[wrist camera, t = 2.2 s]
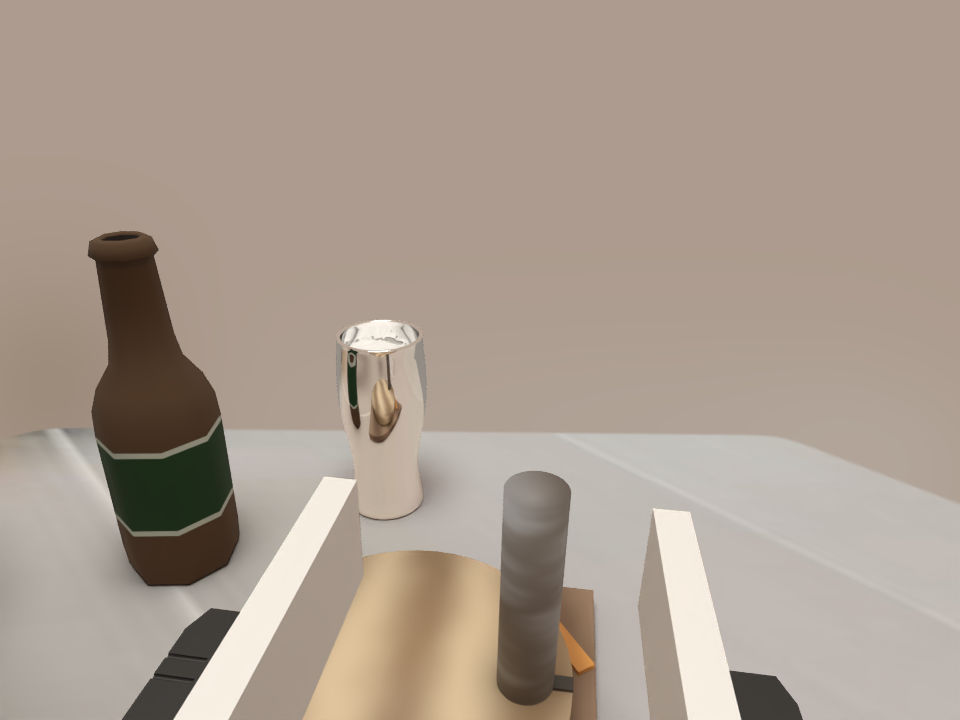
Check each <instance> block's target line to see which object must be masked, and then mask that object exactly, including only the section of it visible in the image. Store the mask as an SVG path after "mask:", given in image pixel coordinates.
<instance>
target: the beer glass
mask: <svg viewBox="0 0 960 720" xmlns="http://www.w3.org/2000/svg"><path fill="white" fill-rule="evenodd" d="M336 383H337V393H338V402H339V407H340V412H341V417H342V421H343V424H344V428H345V431H346V435H347V438H348V442H349V445H350V449H351V453H352V457H353V463H354V480H357V488H358V502H359V513H360V514H362V515H364V516H366V517H369V518H373V519H379V520H388V519H396V518H400V517H403V516H405V515H408V514H410V513H411V512H413V511H414V510H416V509H417V508H418V507H419V506H420V504H421V503H422V500H423V488H422V484H421V480H420V476H419V471H418V450H419V444H420V438H421V432H422V427H423V421H424V415H425V407H426V398H427V377H426V363H425V353H424V344H423V332H422V330H421V329H420V328H419V327H417V326H416V325H413V324H411V323H408V322H404V321H399V320H390V319H377V320H368V321H362V322H357V323H354V324H351V325H348V326H346V327H344V328H342V329H341V330H340V331H339V332H338V333H337V335H336Z"/></svg>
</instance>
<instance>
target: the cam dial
mask: <svg viewBox="0 0 960 720" xmlns="http://www.w3.org/2000/svg"><path fill="white" fill-rule="evenodd" d="M570 499H571V490H570V487H569V485H568V484H567V483H566V482H565V481H564V480H563V479H561V478H560V477H558V476H556V475H553V474H551V473H547V472H541V471H527V472H522V473H518V474H516V475H514V476H512V477H510V478H509V479H508V480H507V481H506V483H505V485H504V499H503V525H502V551H501V571H500V570H498V569H496V568H494V567H492V566H490V565H487V564H485V563H482V562H479V561H476V560H474V559H471V558H467V557H463V556H459V555H455V554H449V553H443V552H435V551H397V552H388V553H381V554H376V555H371V556H366V557H363V571H364V576H363V578H362V580H361V583H360V585H359V587H358V590H357V592H356V594H355V597H354V599H353V602H352V604H351V606H350V609H349V611H348V613H347V616H346V618H345V620H344V623H343V625H342V628H341V630H340V632H339V635H338V637H337V639H336V642H335V644H334V646H333V649H332V651H331V654H330V656H329V658H328V661H327V663H326V665H325V668H324V670H323V672H322V675H321V677H320V679H319V682H318V684H317V687H316V689H315V691H314V694H313V696H312V698H311V701H310V703H309V705H308V708H307V710H306V713H305V715H304V717H303V720H570V716H571V706H572V695H573V689H574V677H573V675H572V665H571V661H570V656H569V652H568V648H567V645H566V643H565V640H564V638H563V635H562V633H561V631H560V629H559V622H560V611H561V599H562V588H563V577H564V566H565V555H566V544H567V533H568V522H569V510H570Z"/></svg>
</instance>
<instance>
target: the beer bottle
mask: <svg viewBox="0 0 960 720" xmlns="http://www.w3.org/2000/svg"><path fill="white" fill-rule="evenodd" d="M157 251H158V248H157V246H156V244H155V242H154V240H153V238H152V237H151V236H148V235H147V234H144V233H141V232H137V231H136V232H135V231H128V232H127V231H120V232H113V233H107V234H103V235H101V236H99V237H97V238H95V239H93V240H91V241H89V250H88V256H89V257H90V258H92V259H94V260H95V261H96V267H97V274H98V280H99V286H100V293H101V299H102V305H103V312H104V317H105V324H106V330H107V337H108V358H109V359H108V360H109V361H108V366H107V368H106V370H105V372H104V374H103V376H102V378H101V380H100V382H99V384H98V386H97V388H96V390H95V396H94V401H93V406H92V419H93V425H94V432H95V438H96V441H97V445H98V449H99V453H100V457H101V461H102V464H103V468H104V472H105V476H106V480H107V484H108V488H109V491H110V495H111V499H112V503H113V507H114V511H115V515H116V518H117V522H118V526H119V530H120V534H121V538H122V541H123V545H124V548H125V551H126V553H127V556H128V559H129V562H130V564H131V565H132V566H133V567H134V568H135V569H136V571H137V572H138V573H139V574H140V575H141V576H142V578H143V579H144V580H145V581H146V582H147V583H148V584H149V585H183V584H191V583H193V582H195V581H197V580H199V579H201V578H203V577H205V576H206V575H208V574H210V573H212V572H214V571H216V570H218V569H219V568H221V567H223V566H225V565H227V562H228V560H229V558H230V556H231V553H232V551H233V549H234V547H235V544H236V542H237V540H238V537H239V524H238V514H237V508H236V502H235V496H234V490H233V484H232V478H231V472H230V466H229V460H228V454H227V448H226V442H225V436H224V430H223V424H222V418H221V413H220V409H219V405H218V401H217V398H216V394H215V391H214V390H213V388H212V386H211V385H210V383H209V381H208V380H207V379H206V377H205V375H204V374H203V372H202V371H201V370H200V369H199V368H197V367H196V366H195V365H194V364H193V363H192V362H191V361H190V360H189V359H188V358H187V357H186V356H184V355H183V354H182V351H181V349H180V346H179V344H178V342H177V339H176V336H175V334H174V331H173V327H172V324H171V320H170V316H169V312H168V308H167V304H166V301H165V297H164V293H163V289H162V286H161V282H160V278H159V274H158V271H157V266H156V263H155V259H154V255H155V254H156V252H157Z"/></svg>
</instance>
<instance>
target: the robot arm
mask: <svg viewBox="0 0 960 720" xmlns="http://www.w3.org/2000/svg"><path fill="white" fill-rule="evenodd" d="M363 576H364V571H363V557H362V543H361V529H360V516H359V502H358V488H357V480H353V479H342V478H332V477H324V478H323V480H322V481H321V483H320V484H319V486H318V488H317V489H316V491H315V492H314V494H313V496H312V497H311V499H310V500H309V502H308V504H307V505H306V507H305V509H304V510H303V512H302V513H301V515H300V517H299V518H298V520H297V521H296V523H295V525H294V526H293V528H292V529H291V531H290V533H289V534H288V536H287V538H286V539H285V541H284V542H283V544H282V546H281V547H280V549H279V550H278V552H277V554H276V555H275V557H274V558H273V560H272V562H271V563H270V565H269V567H268V568H267V570H266V571H265V573H264V575H263V576H262V578H261V579H260V581H259V583H258V584H257V586H256V587H255V589H254V591H253V592H252V594H251V596H250V597H249V599H248V600H247V602H246V604H245V605H244V607H243V608H242V610H241V612H237V611H229V610H221V609H213V608H211V609H209V610H208V611H207V612H206V613H204V614H203V615H202V616H201V617H199V618H198V619H197V620H196V621H194V622H193V623H192V624H191V625H189V626H188V627H187V628H186V629H185V630H184V631H183V633H182V634H181V636H180V637H179V639H178V640H177V641H176V643H175V644H174V646H173V647H172V649H171V650H170V651H169V654H168V657H167V658H165V659H164V660H163V661H162V663H161V664H160V666H159V667H158V669H157V670H156V671H155V673H154V677H153V679H150V680H149V682H148V683H147V684H146V686H145V687H144V689H143V690H142V692H141V693H140V694H139V696H138V697H137V699H136V700H135V702H134V703H133V704H132V706H131V707H130V709H129V710H128V712H127V713H126V714H125V716H124V717H123V719H122V720H303V717H304V715H305V713H306V710H307V708H308V705H309V703H310V701H311V698H312V696H313V694H314V691H315V689H316V687H317V684H318V682H319V679H320V677H321V675H322V672H323V670H324V668H325V665H326V663H327V661H328V658H329V656H330V654H331V651H332V649H333V646H334V644H335V642H336V639H337V637H338V635H339V632H340V630H341V628H342V625H343V623H344V620H345V618H346V616H347V613H348V611H349V609H350V606H351V604H352V602H353V599H354V597H355V594H356V592H357V590H358V587H359V585H360V583H361V580H362V578H363ZM638 610H639V619H640V629H641V638H642V647H643V656H644V666H645V675H646V684H647V693H648V703H649V712H650V720H803V719H802V716H801V713H800V710H799V707H798V705H797V703H796V702H795V701H794V699H793V698H792V697H791V695H790V694H789V693H788V692H787V690H786V689H785V688H784V686H783V685H782V684H781V682H780V681H779V680H778V679H777V677H776V676H769V675H761V674H753V673H745V672H737V671H729V668H728V664H727V660H726V656H725V652H724V648H723V644H722V640H721V636H720V632H719V628H718V624H717V619H716V615H715V611H714V607H713V603H712V599H711V595H710V591H709V587H708V583H707V579H706V575H705V571H704V567H703V563H702V559H701V555H700V551H699V547H698V543H697V538H696V534H695V530H694V526H693V522H692V518H691V514H690V512H684V511H674V510H663V509H653V512H652V519H651V525H650V532H649V538H648V545H647V551H646V558H645V564H644V571H643V578H642V584H641V591H640V597H639V604H638Z"/></svg>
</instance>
